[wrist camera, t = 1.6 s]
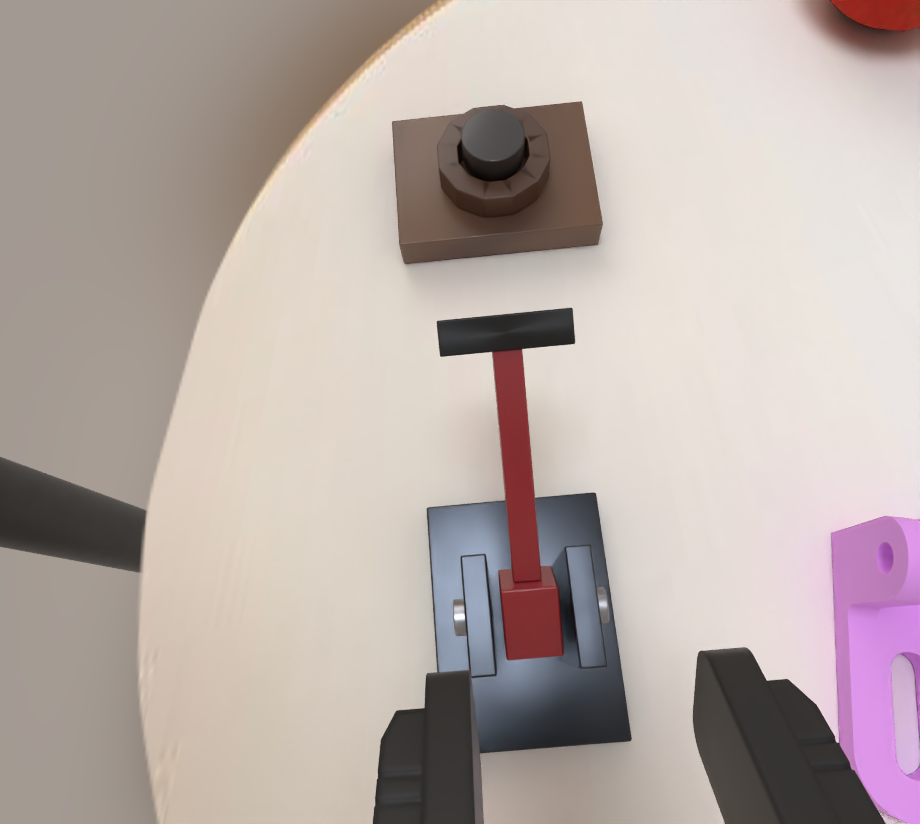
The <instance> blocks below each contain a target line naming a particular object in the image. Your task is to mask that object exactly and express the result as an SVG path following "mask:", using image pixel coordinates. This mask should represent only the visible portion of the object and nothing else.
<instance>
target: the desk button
mask: <svg viewBox="0 0 920 824" xmlns="http://www.w3.org/2000/svg"><path fill="white" fill-rule="evenodd" d="M461 141H462V154H463V161H464V164H465V166H466V168H467V169H468V170H469V171H470V172H471V173H472V174H473V175H475V176H476V177H479V178H481V179H484V180H501V179H504V178H507V177H509V176H511V175H512V174H514V173H515V172H516V171H517V170H518V169H519V167H520V166H521V164H522V162H523V159H524V146H525V131H524V127H523V125H522V123H521V122H520V120H519V119H518V118H517V117H516V116H514V115H513V114H511V113H509V112H507V111H503V110H498V109H490V110H485V111H481V112H479V113H477V114H475V115H473V116H472V117H471V118H470V119H469V120H468V121H467V122H466V124H465V125H464V127H463V130H462V134H461Z"/></svg>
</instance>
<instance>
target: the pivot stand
mask: <svg viewBox="0 0 920 824" xmlns="http://www.w3.org/2000/svg"><path fill="white" fill-rule="evenodd" d="M535 506H536V517H537V529H538V541H539V552H540V564H541V566H551V567H552V570H553V573H554V576H555V579H556V582H557V585H558V588H559V600H560V612H561V624H562V636H563V648H564V655H563V656H557V657H545V658H533V659H522V660H510V661H509V660H507V658H506V650H505V641H504V632H503V621H502V610H501V600H500V589H499V578H498V571H499V570H505V569H512V568H511V557H510V546H509V535H508V524H507V513H506V502H505V501H495V502H484V503H473V504H462V505H451V506H440V507H429V508H427V520H428V535H429V550H430V565H431V581H432V596H433V611H434V626H435V641H436V657H437V672H449V671H461V670H470V672H471V679H472V688H473V696H474V704H475V712H476V720H477V728H478V737H479V748H480V753H489V752H501V751H514V750H526V749H539V748H551V747H563V746H576V745H588V744H601V743H613V742H625V741H631V739H632V738H631V732H630V725H629V718H628V711H627V704H626V697H625V690H624V683H623V677H622V670H621V663H620V656H619V649H618V642H617V635H616V628H615V621H614V615H613V608H612V601H611V594H610V587H609V580H608V573H607V566H606V559H605V553H604V546H603V539H602V532H601V525H600V518H599V511H598V504H597V497H596V493H584V494H573V495H561V496H550V497H539V498H535Z"/></svg>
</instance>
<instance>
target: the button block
mask: <svg viewBox="0 0 920 824" xmlns="http://www.w3.org/2000/svg"><path fill="white" fill-rule="evenodd" d="M490 109H498V110H503V111H507V112H509V113H511V114H513V115H514V116H516V117H517V118H518V119H519V120H520V122H521V123H522V125H523V127H524V131H525V146H524V159H523V162H522V164H521V166H520V167H519V169H518V170H517V171H516V172H515V173H514V174H512V175H511V176H509V177H507V178H504V179H501V180H484V179H481V178H479V177H476V176H475V175H473V174H472V173H471V172H470V171H469V170H468V169H467V168H466V166H465V164H464V161H463V154H462V141H461V134H462V130H463V127H464V125H465V124H466V122H467V121H468V120H469V119H470V118H471V117H472V116H473V115H475V114H477V113H479V112H481V111H485V110H490ZM392 130H393V146H394V163H395V179H396V196H397V212H398V229H399V245H400V249H401V253H402V256H403V260H404V263H415V262H425V261H435V260H445V259H455V258H465V257H475V256H485V255H495V254H505V253H515V252H525V251H535V250H545V249H555V248H565V247H575V246H585V245H595V244H598V241H599V237H600V233H601V229H602V225H603V222H602V216H601V210H600V205H599V199H598V193H597V187H596V181H595V175H594V169H593V163H592V157H591V152H590V146H589V140H588V134H587V128H586V122H585V116H584V110H583V104H582V102H572V103H562V104H553V105H543V106H534V107H524V108H515V109H514V108H511V107H508V106H505V105H498V106H488V107H479V108H473V109H471V110H469V111H468V112H466V113H464V114H458V115H448V116H439V117H429V118H420V119H410V120H401V121H393V122H392Z"/></svg>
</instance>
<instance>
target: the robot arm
mask: <svg viewBox="0 0 920 824" xmlns="http://www.w3.org/2000/svg"><path fill="white" fill-rule="evenodd" d="M693 726H694V733H695V738H696V743H697V747H698V750H699V754H700V757H701V759H702V762H703V765H704V768H705V770H706V773H707V776H708V778H709V781H710V784H711V786H712V789H713V792H714V795H715V797H716V800H717V803H718V805H719V808H720V811H721V814H722V816H723V819H724V822H725V824H885V822H884V820H883V818H882V817H881V815H880V813H879V812H878V810H877V808H876V806H875V805H874V803H873V801H872V800H871V798H870V796H869V794H868V793H867V791H866V789H865V787H864V786H863V784H862V782H861V781H860V779H859V777H858V775H857V774H856V772H855V770H852V769H851V766H850V762H849V760H848V758H847V756H846V755H845V753H844V751H843V750H842V748H841V746H840V744H839V743H836V741H835V736H834V734H833V732H832V731H831V729H830V727H829V726H828V724H827V722H826V720H825V719H824V717H823V715H822V713H821V712H820V710H819V708H818V707H817V705H816V704H815V703H814V702H813V701H812V700H810V699H809V698H808V697H807V696H806V695H805V694H804V693H803V692H802V691H800V690H799V689H798V688H797V687H796V686H795V685H794V684H793V683H791V682H790V681H789V680H788V679H783V680H771V681H767V680H766V678H765V677H764V675H763V673H762V671H761V669H760V667H759V665H758V663H757V661H756V659H755V657H754V656H753V654H752V653H751V651H750V650H749V649H748V648H746V647H743V648H731V649H719V650H707V651H700V652H699V653H698V657H697V667H696V680H695V692H694V705H693ZM373 824H484V819H483V799H482V779H481V762H480V748H479V737H478V728H477V720H476V712H475V704H474V696H473V688H472V679H471V672H470V670H461V671H449V672H437V673H427V675H426V687H425V708H423V709H411V710H399V711H396V712H395V714H394V716H393V718H392V720H391V722H390V724H389V726H388V728H387V729H386V731H385V733H384V735H383V737H382V739H381V745H380V755H379V765H378V779H377V786H376V796H375V807H374V817H373Z"/></svg>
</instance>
